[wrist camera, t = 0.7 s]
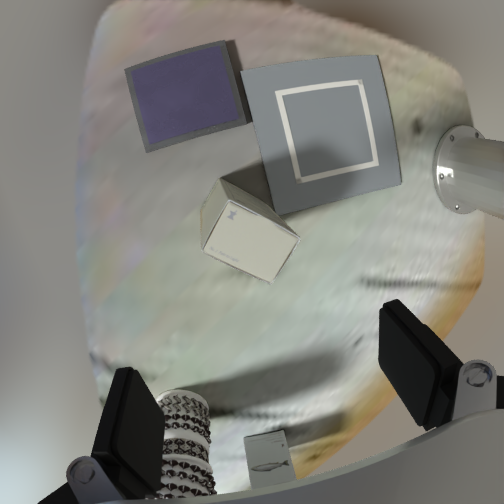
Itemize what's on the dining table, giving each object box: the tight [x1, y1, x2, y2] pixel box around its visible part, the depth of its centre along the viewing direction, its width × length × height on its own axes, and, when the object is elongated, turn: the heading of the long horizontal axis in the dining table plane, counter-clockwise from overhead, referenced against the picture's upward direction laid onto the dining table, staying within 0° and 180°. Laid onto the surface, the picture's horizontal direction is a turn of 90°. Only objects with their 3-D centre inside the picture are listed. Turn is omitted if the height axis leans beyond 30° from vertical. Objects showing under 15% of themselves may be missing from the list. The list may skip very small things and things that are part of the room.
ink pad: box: [124, 40, 247, 153], centre depth 28 cm, size 10×9×2 cm
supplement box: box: [244, 430, 297, 490], centre depth 43 cm, size 7×7×13 cm
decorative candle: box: [145, 389, 217, 499], centre depth 31 cm, size 9×9×25 cm
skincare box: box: [201, 178, 300, 284], centre depth 28 cm, size 6×4×12 cm
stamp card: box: [240, 55, 401, 216], centre depth 31 cm, size 16×16×1 cm
